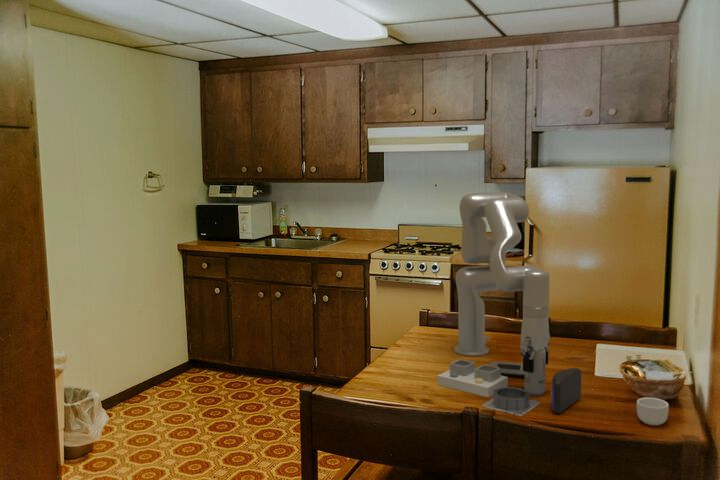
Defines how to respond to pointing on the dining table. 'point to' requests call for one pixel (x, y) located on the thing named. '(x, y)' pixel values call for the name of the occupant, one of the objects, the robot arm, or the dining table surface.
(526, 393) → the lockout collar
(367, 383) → the dining table surface
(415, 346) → the dining table surface
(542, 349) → the energy drink can
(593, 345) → the dining table surface
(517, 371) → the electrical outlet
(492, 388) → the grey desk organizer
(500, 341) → the dining table surface
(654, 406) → the teacup
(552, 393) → the leaning round-cornered charcoal block
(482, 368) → the tagged breaker
